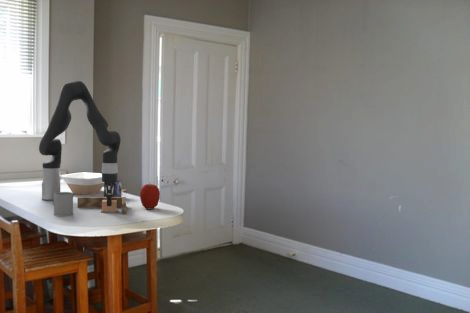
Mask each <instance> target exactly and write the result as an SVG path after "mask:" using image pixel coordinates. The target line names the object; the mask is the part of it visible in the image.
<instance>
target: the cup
mask: <svg viewBox="0 0 470 313" xmlns="http://www.w3.org/2000/svg"><path fill="white" fill-rule="evenodd" d="M53 215H54V216H57V217H68V216H72V215H74V193H72V191H71V192H70V191H60V192H58V193H54V200H53Z"/></svg>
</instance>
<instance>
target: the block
mask: <svg viewBox="0 0 470 313" xmlns="http://www.w3.org/2000/svg"><path fill="white" fill-rule="evenodd" d="M117 208H118V207H117V200H112V205H111V206H107V200H102V207H101V210H102V212H101V213H113V212H112V211H117V210H118V209H117Z"/></svg>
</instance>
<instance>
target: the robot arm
mask: <svg viewBox="0 0 470 313" xmlns="http://www.w3.org/2000/svg"><path fill="white" fill-rule="evenodd" d="M78 100H81V101H82V103H84V106H85V110H86V119H87V120H88V122H89V123H90V125H91V127H92V128H93V130H94V131H95V134H96V136H97V138H98V141H99V143H101V145H102V146H105V147H107V149H106V150H103V153H102V164H101V165H102V166H101V174H102V182H107V185H106V186H105V189H106V195H107V196H106V198H107V206H111V205H112V195H113V189H114V185H112V184H113V183H112V182H117V180H119V179H118V178H119V177H118V173H119V171H118V169H119V168H118V153H119V150H120V145H121V139H122V138H121V136H120V133H119V132H118V131H115V130H114V131H112V130H108V127H109V123H108V122H107V120H106V119H105V117H104V116H103V114H101V112H100V110H99V108H98V107H97V105H96V102H95V100H94V99H93V97H92V95H91V93H90V91H89V89H88V88H87V86H86V84H85V83H84V82H83V81H81V80H75V81H71V82H70V81H69V82H65V83H64V84H63V85H62V87H61V90H60V94H59V98H58V101H57V105H56V107H55V109H54V112H53V114H52V116H51V119H50V121H49V124H48V127H47V129H46V131H45V132H44V134H43V136H42V138H41V140H40V141H39V145H38V151H39V153H40V154H41V155H42V156H51V157H50V159H48V160H46V161H43V163H42V181H41V200H48V201H51V200H52V201H54V193H58V192H61V178H60V176H61V165H62V164H61V163H62V149H63V148H62V146H63V144H62V141H61V139H60V138H57V137H59V136H60V135H61V134H63V133H64V132H66V131H67V129H68V128H69V125H70V123H71V121H72V113H71V111H70V105H71V104H72V102H74V101H78Z"/></svg>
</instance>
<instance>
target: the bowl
mask: <svg viewBox="0 0 470 313" xmlns="http://www.w3.org/2000/svg"><path fill="white" fill-rule="evenodd" d="M61 179H62V181H64V183H66V185H67V186H68V188H69V190H70V191H71V193H73V194H75V195H82V196H83V195H84V196H85V195H86V196H88V195H89V196H90V195H94V194H99V193H100V192H101V190H102V189H103V188H104V182H102V172H101V173H100V172H84V171H83V172H74V173H68V174H66V173H65V174H60V180H61Z"/></svg>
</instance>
